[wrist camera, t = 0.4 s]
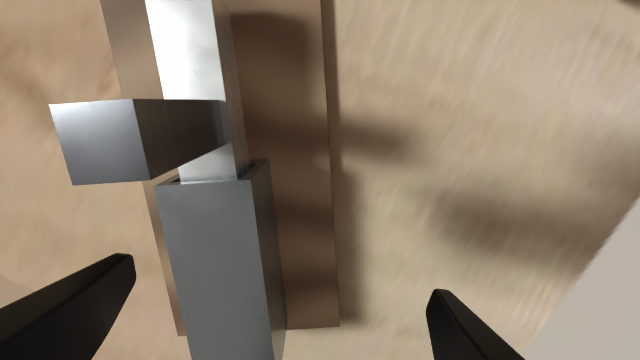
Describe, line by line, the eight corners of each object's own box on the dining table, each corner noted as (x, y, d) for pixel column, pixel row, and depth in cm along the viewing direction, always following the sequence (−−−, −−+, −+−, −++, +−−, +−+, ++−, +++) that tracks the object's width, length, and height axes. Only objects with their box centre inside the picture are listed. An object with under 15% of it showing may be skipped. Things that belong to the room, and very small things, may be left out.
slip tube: (271, 327, 23) (233, 508, 13) (230, 329, 23) (160, 512, 13) (227, -4, 17) (91, -161, 7) (172, -1, 17) (-44, -149, 7)
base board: (339, 318, 26) (339, 326, 25) (183, 327, 26) (178, 336, 26) (309, -165, 18) (309, -181, 17) (76, -146, 18) (62, -160, 17)
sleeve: (287, 319, 25) (278, 387, 19) (226, 323, 25) (199, 391, 19) (269, 158, 22) (250, 180, 16) (198, 163, 22) (153, 186, 16)
